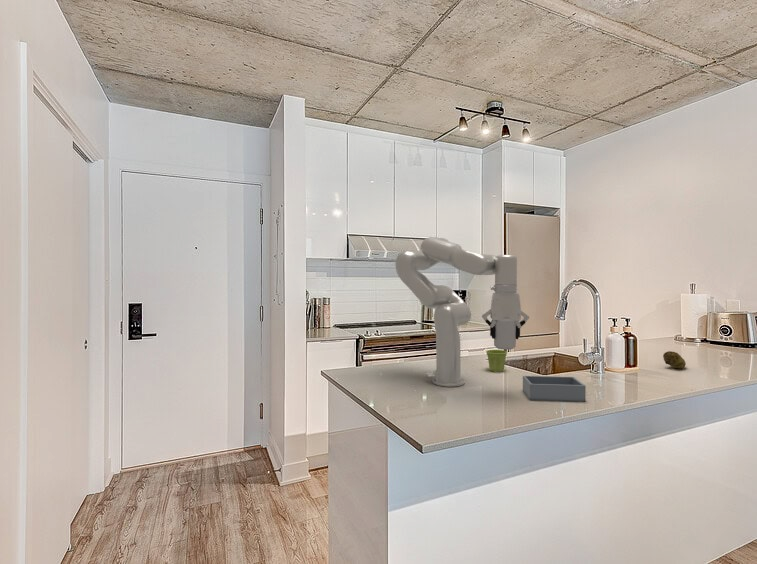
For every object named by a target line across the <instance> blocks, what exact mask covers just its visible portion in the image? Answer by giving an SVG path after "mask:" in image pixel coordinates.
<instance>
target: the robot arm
mask: <svg viewBox="0 0 757 564" xmlns="http://www.w3.org/2000/svg"><path fill="white" fill-rule="evenodd" d="M440 262H441V263H444V264H448V265H450V266H452V267H453V268H455V269H457V270H459V271H462V272H466V273H468V274H471V275H475V276H493V275H494V285H491V286H490V290H491V291H494V292H493V293H492V296H491V303H490V309H489V310H488V311H485V313H483V314H482V315H481V318H482V319H483V321H484V322H485V323H486V324H487V325H488V326H489V327H490V328H489V336H490V337H491V338H492V340H494V338H495V328H494V325H495V324H496V321H499V320H501V319H503V318H504V317H503V316H510V317H509V318H510V319H512V320H513V321H515V322H516V340H519V337H521V328H522V327H523V326H524V325H526V323H527V321H529V319H530V316H529V315H528V314H526V313H525V312H523V311H522V309H521V308H522V307H521V298H520V294H519V293H518V292H517V289H518V288H517V287H518V285H517V284H518V283H517V282H518V280H517V279H518V257H517V256H516V255H513V254H499V255H493V254H483V253H482V254H480V253H475V252H472V251H468V250H466V249H462V246H461V245H460V244H458V243H454V242H451V241H449V240H448V239H447V238H445V237H444V238H443V237H436V236H435V237H434V236H433V237H432V236H430V237H426V238H424V239H423V240H422V242H421V244H420V250H415V249H413V250H412V249H411V250H409V249H407V250H403V251H401V252H400V253H398V255H397V256H396V258H395V270H396V274H397V276H398V278H399V279H400V281H402V283H403V284H404V285H405V286H406V287H407V288H408V289H409V291H411V292H412V293H413V294H414V296H415V297H416V298H417V299H418V300H419V301H420V302H421V304H422V305H423V306H424V307H425V308H427V309H433V310H434V309H435V311H434V313H433V322H434V328H435V341H436V342H435V350H436V351H435V352H436V353H435V354H436V355H435V357H436V360H435V361H436V362H435V364H436V368H435V371H431V372H430V371H425V374H424V376H425V378H428V379H431V378H432V384H434V385H437V386H439V387H447V388H449V387H461V386H463V385H465V379H463V378H462V377H461V375H462V373H461V371H462V370H461V334H460V331H459V328H458V327H460V326H464V325H466V324H468V323H469V322H470V321H471V318H472V311H471V309H470V307H469V305H468V304H467V303H466V302H465V301H464V300H463V299H462V298H461V297H460V296H459V295H458V294H457V293H456V292H455V291H454V290H453V289H452V288H450V287H449V286H447V285H442V284H441V285H439V284H438V285H436V284H434V283H432V282H431V281H430V279H428V277H427V276H426V275H424V274H423V273H422V272H420V271H425V270H428V269H430V268H431V267H434V266H435V265H437V264H439V263H440ZM488 316H489V317H490V319H491V321H490V320H489V319H488ZM522 317H523V318H522ZM521 318H522V320H521Z"/></svg>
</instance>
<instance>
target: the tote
mask: <svg viewBox="0 0 757 564" xmlns="http://www.w3.org/2000/svg"><path fill="white" fill-rule="evenodd" d="M522 391H523V392H524V393H523V394H525V395H526V397H527V398H528V399H529V401H539V402H540V401H541V402H542V401H543V402H544V401H545V402H571V403H572V402H573V403H574V402H575V403H577V402H578V403H579V402H580V403H581V402H582V403H586V399H587V398H586V385H585V384H584V383H583V382H581V381H580V380H579V379H577V378H576V377H575V376H553V375H551V376H548V375H547V376H544V375H522Z"/></svg>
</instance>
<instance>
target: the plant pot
mask: <svg viewBox="0 0 757 564" xmlns="http://www.w3.org/2000/svg"><path fill="white" fill-rule="evenodd" d="M485 353H486V355H487V361H488V366H489V371H490V372H493V373H501V372H505V364H506V357H507V354H508V350H507V351H506V350H503V349H487V350H485Z"/></svg>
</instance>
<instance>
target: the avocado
mask: <svg viewBox="0 0 757 564" xmlns="http://www.w3.org/2000/svg"><path fill="white" fill-rule="evenodd" d="M662 357H663V358H662V359H663V362H664V363H665V364H666V365H668V366H670V367H672V368H674V369H677V370H678V369H679V370H681V369H684V368H685V367H686V363H687V362H686V361H685V359H684V358H683V357H682V356H681V355H680V354H679V353H678V352H675V351H672V350H671V351H670V350H669V351H666V352H664V353H663V356H662Z"/></svg>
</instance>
